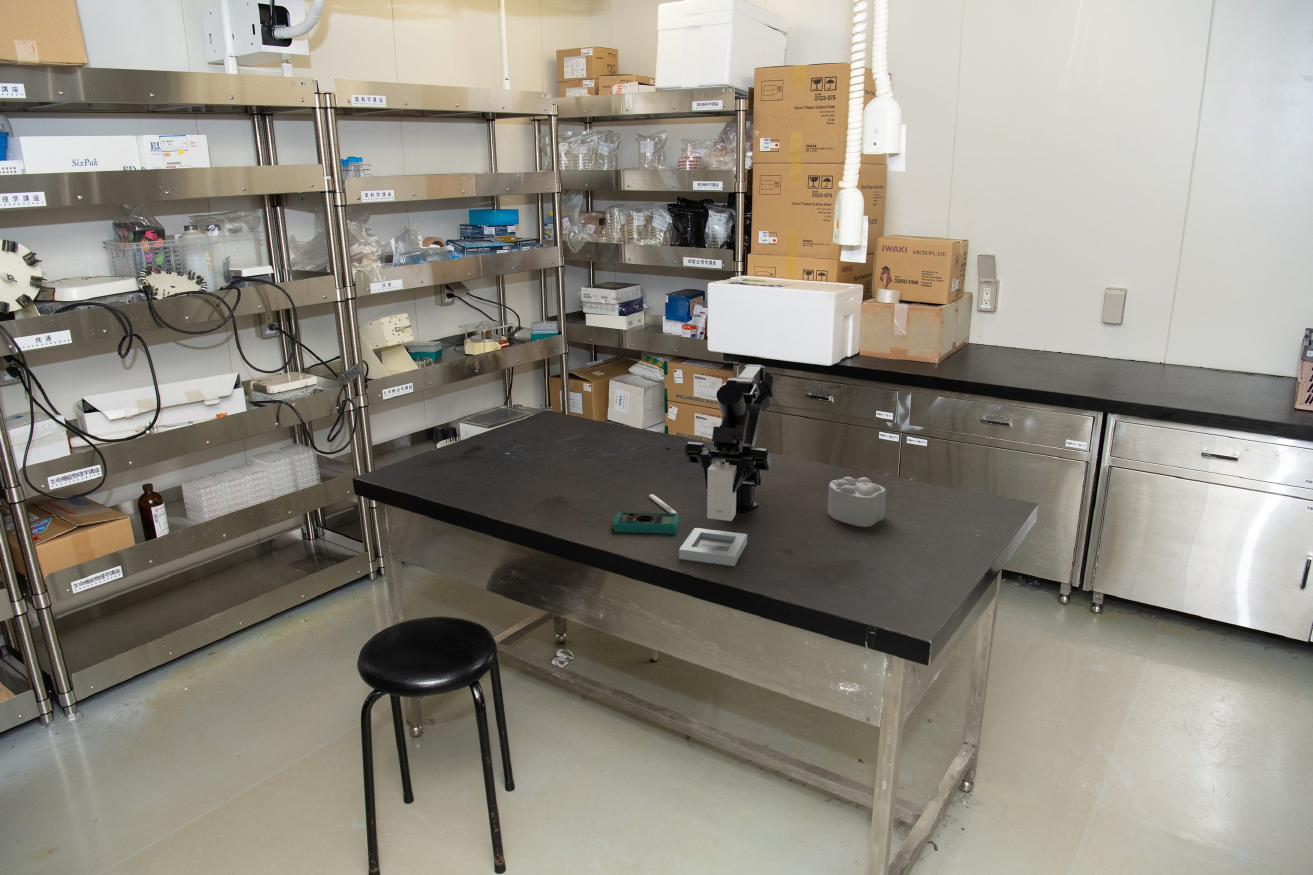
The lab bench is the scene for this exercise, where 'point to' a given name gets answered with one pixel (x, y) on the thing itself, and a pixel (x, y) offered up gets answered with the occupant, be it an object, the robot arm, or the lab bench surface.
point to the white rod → (662, 504)
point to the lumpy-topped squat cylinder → (856, 501)
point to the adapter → (721, 491)
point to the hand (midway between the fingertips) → (720, 490)
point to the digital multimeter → (646, 523)
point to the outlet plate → (713, 546)
